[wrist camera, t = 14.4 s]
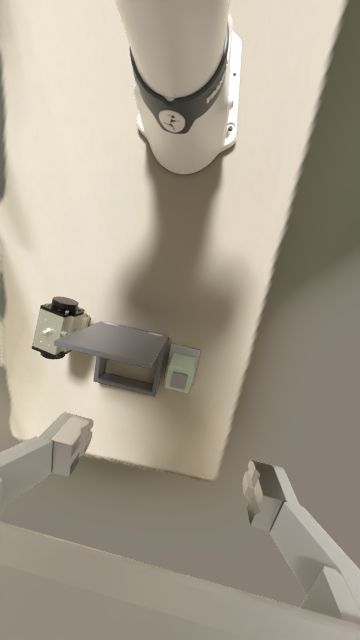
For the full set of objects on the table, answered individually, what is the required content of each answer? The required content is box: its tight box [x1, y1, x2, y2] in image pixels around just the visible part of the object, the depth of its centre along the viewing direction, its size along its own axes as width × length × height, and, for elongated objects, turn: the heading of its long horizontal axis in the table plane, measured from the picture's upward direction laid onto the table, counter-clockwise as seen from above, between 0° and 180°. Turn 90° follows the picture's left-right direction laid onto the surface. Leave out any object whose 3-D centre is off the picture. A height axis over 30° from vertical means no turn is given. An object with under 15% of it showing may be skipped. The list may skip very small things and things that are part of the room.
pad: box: [164, 344, 201, 385], centre depth 46 cm, size 9×7×1 cm
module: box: [165, 353, 195, 394], centre depth 42 cm, size 5×5×8 cm
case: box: [54, 322, 169, 397], centre depth 38 cm, size 15×15×17 cm
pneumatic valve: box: [32, 297, 90, 359], centre depth 40 cm, size 6×12×12 cm, turn 159°
